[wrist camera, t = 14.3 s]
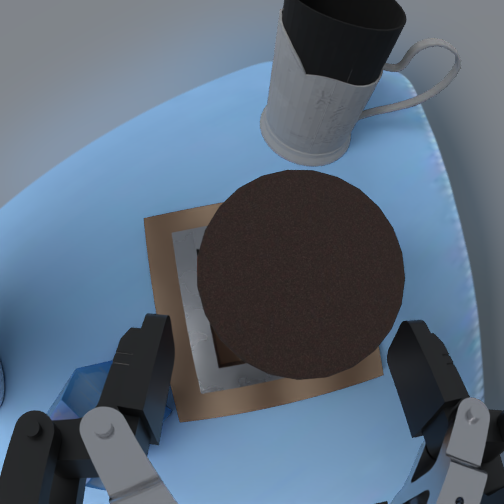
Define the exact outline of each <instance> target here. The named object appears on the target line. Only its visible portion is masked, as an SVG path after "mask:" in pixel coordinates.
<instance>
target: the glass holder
mask: <svg viewBox="0 0 504 504" xmlns="http://www.w3.org/2000/svg"><path fill="white" fill-rule="evenodd" d="M405 23H406V15H405V12H404V11H403V9H402V7H401V6H400V5H399V4H398V3H397V2H396V1H395V0H284V6H283V9H280V13H279V21H278V28H277V36H276V43H275V50H274V58H273V65H272V72H271V80H270V87H269V95H268V102H267V105H266V107H265V108H264V110H263V112H262V114H261V119H260V129H261V133H262V136H263V138H264V140H265V142H266V143H267V144H268V146H269V147H270V148H271V149H272V150H273V151H274V152H275V153H276V154H278V155H279V156H281V157H282V158H284V159H286V160H288V161H290V162H293V163H296V164H299V165H304V166H323V165H327V164H330V163H332V162H334V161H336V160H338V159H339V158H340V157H342V156H343V155H344V153H345V152H346V151H347V149H348V147H349V144H350V140H351V131H352V130H353V128H354V126H355V124H356V123H357V121H358V120H360V119H363V118H366V117H370V116H374V115H379V114H383V113H388V112H393V111H397V110H401V109H405V108H409V107H413V106H416V105H418V104H420V103H422V102H425V101H426V100H428V99H430V98H432V97H434V96H435V95H437V94H438V93H440V92H441V91H442V90H443V89H445V88H446V87H447V86H448V85H449V84H450V83H451V82H452V80H453V79H454V78H455V77H456V76H457V74H458V72H459V70H460V68H461V59H460V57H459V55H458V52H457V51H456V49H455V48H454V47H453V46H452V45H451V44H449V43H448V42H446V41H444V40H442V39H435V38H431V39H424V40H422V41H419V42H417V43H416V44H414V45H413V46H412V47H411V48H410V49H409V50H408V51H407V53H406V54H405V56H404V57H403V59H402V60H401V61H400V62H399V63H397V64H388V63H386V61H387V58H388V57H389V55H390V53H391V51H392V49H393V47H394V45H395V43H396V41H397V39H398V37H399V35H400V33H401V31H402V29H403V27H404V25H405ZM434 46H439V47H444V48H446V49H448V50H450V51H451V52H452V53H454V54H455V56H456V58H455V64H454V66H453V67H452V69H451V71H450V72H449V73H448V74H447V75H446V76H445V78H444V79H443V80H442V81H441V82H439V83H438V84H437V85H436V86H434V87H433V88H431V89H430V90H428V91H426V92H424V93H423V94H420V95H418V96H416V97H414V98H411V99H408V100H405V101H401V102H398V103H394V104H389V105H385V106H380V107H375V108H371V109H367V110H364V108H365V106H366V104H367V102H368V100H369V98H370V97H371V95H372V93H373V91H374V89H375V87H376V85H377V84H378V82H379V80H380V78H381V76H382V73H383V70H385V71H390V72H398V71H402V70H403V69H404V68H406V66H407V65H408V64H409V63H410V61H411V59H412V58H413V57H414V56H415V55H416V54H417V53H418V52H419V51H421V50H423V49H425V48H428V47H434ZM363 110H364V111H363Z"/></svg>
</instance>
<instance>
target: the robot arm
mask: <svg viewBox="0 0 504 504" xmlns="http://www.w3.org/2000/svg"><path fill="white" fill-rule="evenodd" d="M448 354H449V353H448V351H447V349H446V347H445V346H444V344H443V342H442V341H441V340H440V339H439V338H438V337H437V336H436V335H435V334H434V333H431V332H430V331H429V329H428V327H427V325H426V323H425V322H424V321H423V320H412V321H403V322H402V323H401V325H400V327H399V329H398V331H397V333H396V335H395V337H394V339H393V341H392V343H391V345H390V347H389V350H388V354H387V362H388V366H389V369H390V372H391V375H392V378H393V380H394V383H395V386H396V389H397V392H398V395H399V398H400V401H401V404H402V407H403V410H404V413H405V416H406V419H407V423H408V426H409V429H410V432H411V436H412V438H414V437H418V436H424V439H425V440H424V441H423V443H422V444H421V447H420V449H419V452H418V454H417V457H416V459H415V462H414V464H413V466H412V469H411V471H410V473H409V476H408V478H407V480H406V482H405V484H404V486H403V487H402V489H401V490H400V491H399V492H398V493H397V495H396V496H395V497H394V499H393V500H392V502H391V503H390V504H504V467H503V464H502V461H501V457H500V454H501V453H502V452H503V451H504V411H501V410H488V409H487V407H486V405H485V404H484V403H483V402H482V401H480V400H479V399H476V398H470V396H469V394H468V392H467V390H466V388H465V386H464V384H463V381H462V379H461V377H460V375H459V373H458V371H457V369H456V367H455V365H453V361H452V359H451V357H450V356H449V355H448ZM174 360H175V345H174V338H173V332H172V325H171V319H170V316H169V315H160V314H146V316H145V318H144V321H143V324H142V327H141V329H140V328H130V329H129V330H128V331H127V332H126V333H125V335H124V336H123V337H122V338H121V340H120V342H119V345H118V348H117V350H116V354H115V356H114V358H113V363H112V364H111V367H110V370H109V373H108V375H107V378H106V381H105V384H104V387H103V390H102V393H101V396H100V399H99V402H98V404H97V406H96V407H95V408H94V409H92V410H90V411H89V412H87V413H86V414H85V415H84V417H81V418H77V419H67V420H51V419H50V417H49V416H48V415H47V414H45V413H43V412H41V411H29V412H26V413H25V414H23V415H22V416H21V417H20V418H19V419H18V421H17V423H16V425H15V428H14V431H13V434H12V437H11V440H10V443H9V447H8V450H7V453H6V457H5V460H4V464H3V468H2V472H1V475H0V504H83V498H84V491H85V485H86V479H87V478H98V477H100V479H101V481H102V483H103V485H104V487H105V489H106V490H107V492H108V495H109V498H110V499H109V503H110V504H178V503H177V501H176V500H175V499H174V497H173V496H172V494H171V493H170V491H169V490H168V489H167V487H166V486H165V484H164V483H163V481H162V480H161V478H160V477H159V475H158V474H157V472H156V470H155V469H154V467H153V466H152V464H151V462H150V461H149V459H148V458H147V454H148V449H149V444H154V445H159V441H160V435H161V430H162V424H163V418H164V413H165V407H166V402H167V397H168V391H169V386H170V381H171V376H172V371H173V366H174ZM3 396H4V376H3V370H2V366H1V362H0V406H1V404H2V401H3ZM376 504H388V502H387V501H385V502H381V503H376Z"/></svg>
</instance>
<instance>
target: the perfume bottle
mask: <svg viewBox="0 0 504 504" xmlns="http://www.w3.org/2000/svg"><path fill="white" fill-rule="evenodd" d="M112 363H113V361H108V362H103V363H99V364H95V365H90V366H85V367H81V368H76V370H75V371H74V373H73V374H72V376H71V377H70V379H69V380H68V382H67V383H66V385H65V386H64V388H63V389H62V391H61V392H60V394H59V395H58V397H57V399H56V400H55V402H54V403H53V405H52V406H51V408H50V410H49V411H48V413H47V415H48V416H49V417H50V419H51V420H67V419H77V418H81V417H84V415H85V414H86V413H87V412H89V411H90V410H92V409H94V408H95V407H96V406H97V404H98V402H99V399H100V396H101V393H102V390H103V387H104V384H105V381H106V378H107V375H108V373H109V370H110V367H111V364H112ZM171 412H172V410H170V409H169V408H168V407H165V413H164V418H163V422H164V421H165V419H166V418H167V417H168V416H169V414H170V413H171ZM85 486H87V487H91V488H96V489H101V490H106V489H105V487H104V485H103V483H102V481H101V479H100V477H98V478H87V479H86V485H85Z"/></svg>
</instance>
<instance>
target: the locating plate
mask: <svg viewBox="0 0 504 504" xmlns="http://www.w3.org/2000/svg"><path fill="white" fill-rule="evenodd" d="M223 203H224V202H223ZM221 204H222V203H217V204H212V205H207V206H202V207H196V208H191V209H186V210H181V211H176V212H171V213H166V214H162V215H157V216H152V217H147V218H144V226H145V235H146V244H147V252H148V260H149V268H150V275H151V282H152V289H153V295H154V302H155V308H156V314H160V315H169V316H170V319H171V325H172V332H173V338H174V345H175V360H174V366H173V371H172V376H171V381H170V384H171V389H172V393H173V397H174V401H175V405H176V409H177V413H178V417H179V421H180V422H188V421H196V420H203V419H210V418H217V417H223V416H229V415H235V414H240V413H246V412H251V411H256V410H261V409H266V408H270V407H275V406H279V405H284V404H288V403H292V402H296V401H300V400H304V399H308V398H312V397H315V396H319V395H323V394H326V393H330V392H333V391H336V390H340V389H343V388H346V387H349V386H353V385H356V384H359V383H362V382H365V381H368V380H371V379H374V378H377V377H379V376H382V375H384V374H383V368H382V362H381V357H380V351H379V346H378V347H377V349H376V350H375V351H374V352H373V353H371V354H370V355H369V356H367V357H366V358H365V359H363V360H362V361H361V362H359V363H358V364H357V365H355V366H354V367H352V368H350V369H347V370H345V371H342V372H340V373H337V374H335V375H332V376H329V377H326V378H315V379H304V380H296V379H290V378H284V377H279V376H274V375H269V374H267V373H265V372H263V371H261V370H259V369H257V368H255V367H253V366H251V365H249V364H247V363H246V362H244V361H242V360H241V359H240V358H239V357H238V356H237V355H236V354H234V353H233V352H232V351H231V350H230V349H229V348H228V347H227V346H226V345H225V344H224V343H223V342H222V341H221V340H220V339H219V337H218V335H217V334H216V332H215V331H214V329H213V327H212V326H211V324H210V322H209V321H208V319H207V317H206V316H205V313H204V310H203V306H202V303H201V299H200V295H199V292H198V288H197V256H198V252H199V249H200V245H201V242H202V238H203V235H204V232H205V229H206V228H207V226H208V224H209V223H210V221H211V219H212V218H213V216H214V214H215V213H216V211H217V209H218V208H219V206H220V205H221Z"/></svg>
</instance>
